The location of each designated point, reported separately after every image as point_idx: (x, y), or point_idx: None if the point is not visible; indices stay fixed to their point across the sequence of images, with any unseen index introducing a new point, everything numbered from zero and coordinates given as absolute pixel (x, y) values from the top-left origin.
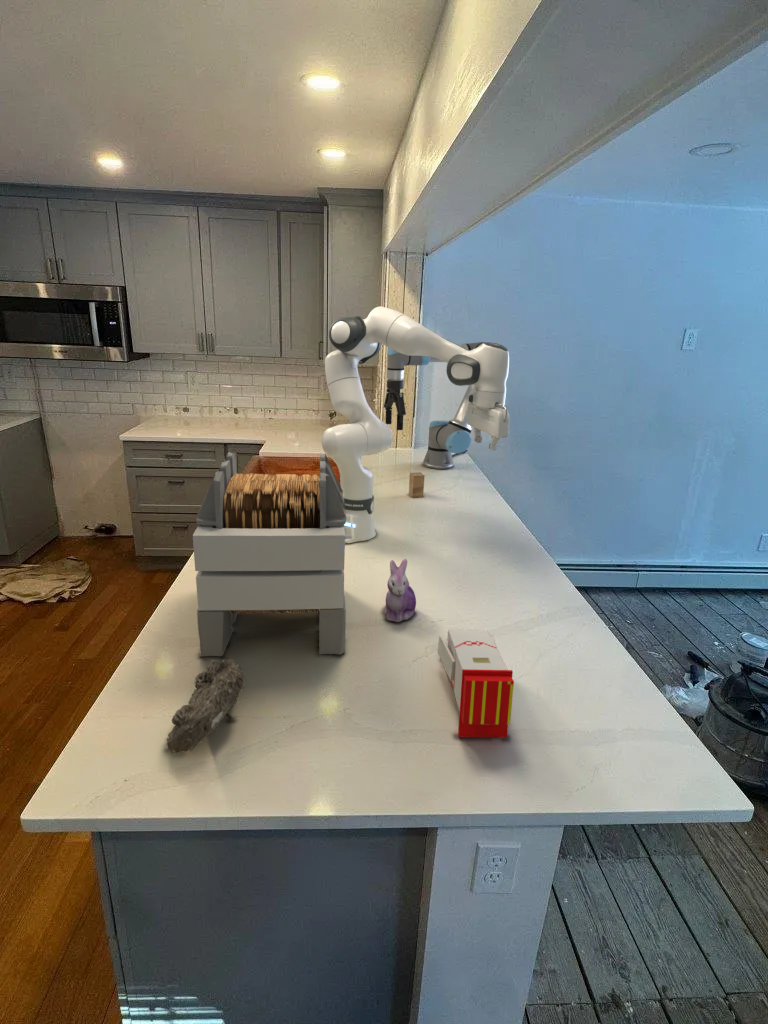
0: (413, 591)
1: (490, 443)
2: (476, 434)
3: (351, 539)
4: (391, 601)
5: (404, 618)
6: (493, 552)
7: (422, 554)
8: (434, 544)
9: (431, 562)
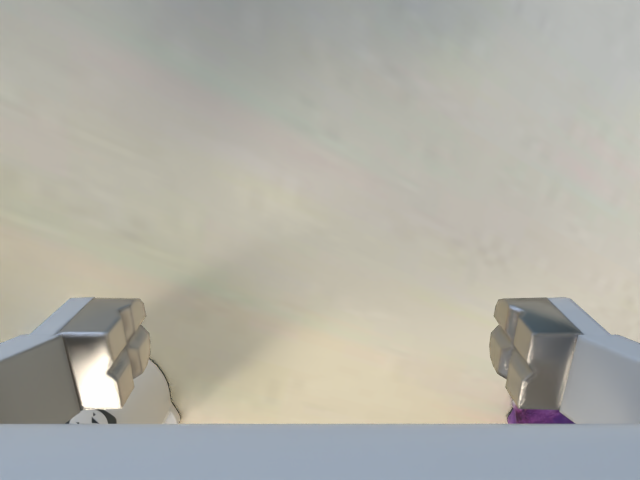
0: (566, 420)
1: (524, 394)
2: (36, 420)
3: (171, 416)
4: None
5: None
6: (307, 42)
7: (276, 270)
8: (211, 211)
9: (332, 266)
